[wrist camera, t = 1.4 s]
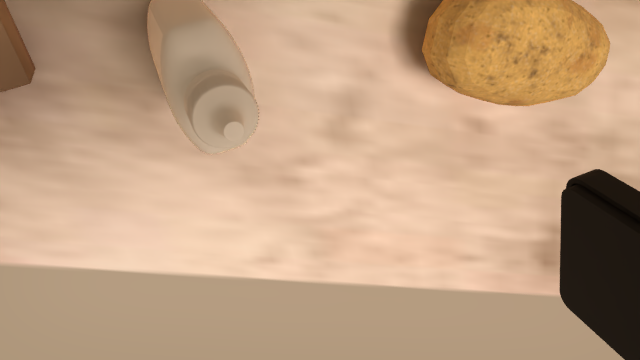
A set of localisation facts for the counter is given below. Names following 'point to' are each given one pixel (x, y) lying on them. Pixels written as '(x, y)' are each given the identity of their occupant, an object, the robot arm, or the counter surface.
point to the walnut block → (12, 54)
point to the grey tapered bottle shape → (202, 75)
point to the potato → (515, 49)
